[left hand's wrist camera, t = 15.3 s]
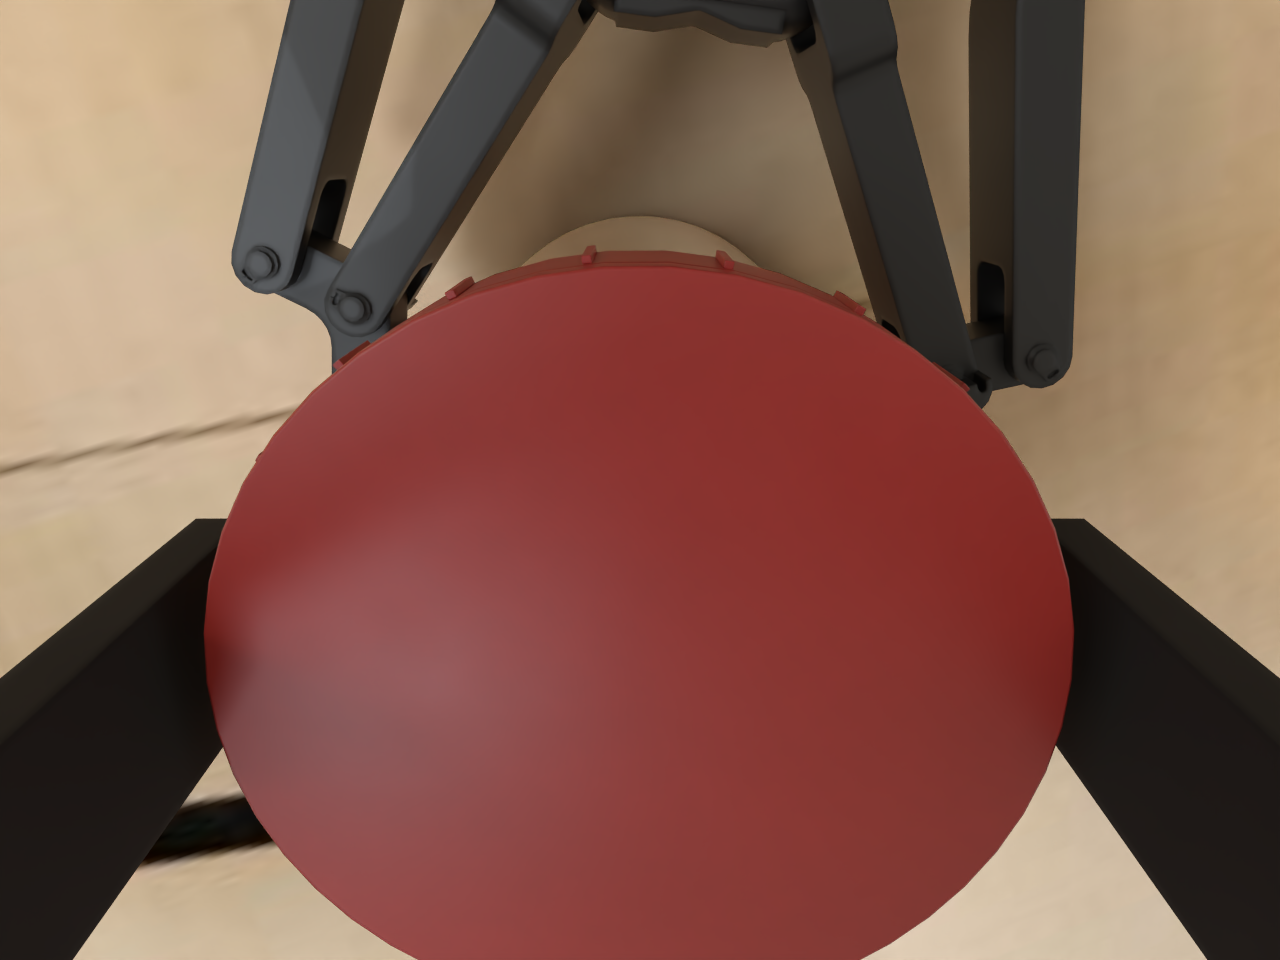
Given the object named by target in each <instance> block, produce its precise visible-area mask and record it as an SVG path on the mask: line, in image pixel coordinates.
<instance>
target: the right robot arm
mask: <svg viewBox="0 0 1280 960" xmlns="http://www.w3.org/2000/svg"><path fill="white" fill-rule="evenodd" d="M403 4H404V0H290V5H289V9H288V13H287V17H286V22H285V26H284V30H283V35H282V39H281V43H280V47H279V52H278V56H277V60H276V65H275V69H274V73H273V77H272V82H271V86H270V90H269V95H268V99H267V103H266V107H265V112H264V116H263V120H262V125H261V129H260V133H259V137H258V142H257V146H256V150H255V154H254V159H253V163H252V167H251V172H250V176H249V180H248V184H247V189H246V193H245V197H244V202H243V206H242V210H241V214H240V219H239V223H238V227H237V232H236V236H235V240H234V244H233V249H232V266H233V269H234V272H235V275H236V276H237V277H238V279H239V280H240V281H241V282H242V284H243V285H244V286H246V287H247V288H249V289H251V290H252V291H254V292H257V293H263V294H271V293H276V294H278V295H280V296H282V297H284V298H286V299H288V300H290V301H292V302H294V303H296V304H298V305H301V306H303V307H305V308H307V309H308V310H310V311H311V312H313V313H315V314H316V315H317V316H318V317H319V318H320V319H321V320H322V322H323V323H324V325H325V326H326V328H327V329H328V332H329V335H330V337H331V344H332V374H333V373H335V372H336V371H337V370H336V369H335V367H334V366H333V364H334V363H335V362H336V361H337V360H339V359H340V358H342V357H343V356H345V355H346V354H348V353H349V352H351V351H352V350H353V349H355V348H356V347H358V346H359V345H361V344H362V343H364V342H365V341H367V340H368V341H369V342H370V343H373V342H374V341H376V340H377V339H378V338H380V337H381V336H383V335H384V334H386V333H387V332H389V331H390V330H391V329H393V328H394V327H396V326H397V325H399V324H400V323H402V322H404V321H405V320H407V310H409V309H410V308H411V307H412V306H413V305H414V304H415V303H416V302H417V301H418V300H416V299H415V297H416V296H417V294H418V293H419V291H420V289H421V288H422V286H423V285H424V283H425V281H426V280H427V278H428V277H429V275H430V273H431V272H432V270H433V269H434V267H435V265H436V264H437V262H438V261H439V259H440V257H441V256H442V254H443V253H444V251H445V249H446V248H447V246H448V245H449V243H450V241H451V240H452V238H453V237H454V235H455V233H456V232H457V230H458V229H459V227H460V225H461V224H462V222H463V221H464V219H465V217H466V216H467V214H468V213H469V211H470V209H471V208H472V206H473V205H474V203H475V201H476V200H477V198H478V197H479V195H480V193H481V192H482V190H483V189H484V187H485V185H486V184H487V182H488V181H489V179H490V177H491V176H492V174H493V173H494V171H495V169H496V168H497V166H498V165H499V163H500V161H501V160H502V158H503V157H504V155H505V153H506V152H507V150H508V149H509V147H510V145H511V144H512V142H513V141H514V139H515V137H516V136H517V134H518V133H519V131H520V130H521V128H522V126H523V125H524V123H525V122H526V120H527V118H528V117H529V115H530V114H531V112H532V110H533V109H534V107H535V106H536V104H537V102H538V101H539V99H540V98H541V96H542V94H543V93H544V91H545V90H546V88H547V86H548V85H549V83H550V82H551V80H552V78H553V77H554V75H555V74H556V72H557V70H558V69H559V67H560V66H561V65H562V63H563V62H564V61H565V60H566V59H567V58H568V57H569V55H570V54H571V53H572V51H573V50H574V48H575V47H576V45H577V44H578V42H579V41H580V39H581V38H582V36H583V34H584V33H585V31H586V30H587V28H588V27H589V25H590V23H591V22H592V20H593V19H594V17H595V15H596V14H597V12H600V13H601V14H603V15H604V16H606V17H608V18H610V19H612V20H614V21H615V22H616V27H622V28H629V29H636V30H643V31H651V32H656V31H662V30H669V29H675V28H681V27H688V26H694V27H697V28H700V29H702V30H704V31H706V32H708V33H711V34H713V35H715V36H717V37H719V38H721V39H724V40H726V41H728V42H730V43H737V44H745V45H752V46H759V47H766V48H767V47H768V46H769V45H770V44H772V43H773V42H778V41H782V40H785V39H786V41H787V44H788V47H789V51H790V54H791V57H792V61H793V64H794V67H795V70H796V73H797V76H798V79H799V82H800V84H801V86H802V88H803V90H804V91H805V93H806V95H807V97H808V99H809V101H810V104H811V107H812V111H813V114H814V117H815V120H816V124H817V127H818V130H819V134H820V137H821V140H822V144H823V147H824V150H825V153H826V157H827V160H828V163H829V167H830V170H831V173H832V176H833V180H834V183H835V186H836V190H837V193H838V196H839V199H840V203H841V206H842V209H843V213H844V216H845V219H846V222H847V226H848V229H849V232H850V236H851V239H852V242H853V245H854V249H855V252H856V255H857V259H858V262H859V265H860V269H861V272H862V275H863V278H864V282H865V285H866V288H867V292H868V295H869V298H870V301H871V305H872V308H873V311H874V315H875V318H876V321H877V323H878V324H880V325H881V326H882V327H884V328H885V329H887V330H888V331H890V332H891V333H892V334H894V335H895V336H897V337H898V338H900V339H901V340H902V341H904V342H905V343H907V344H908V345H910V346H911V347H912V348H914V349H915V350H917V351H918V352H919V353H920V354H921V355H923V356H924V357H925V358H926V359H928V360H929V361H930V362H931V363H932V362H935V363H936V364H938V365H939V366H941V367H942V368H943V369H945V370H946V371H948V372H949V373H951V374H952V375H954V376H955V377H956V378H958V379H959V380H961V381H962V382H964V383H965V384H966V385H967V386H968V387H969V388H970V390H969V391H967V392H966V393H967V394H968V395H969V396H970V397H971V398H972V399H973V400H974V401H975V403H976V404H977V405H978V406H979V407H980V408H981V409H982V408H983V407H984V406H985V405H986V404H987V402H988V401H989V398H990V396H991V393H992V391H994V390H999V389H1003V388H1008V387H1013V386H1017V385H1022V384H1025V385H1026V386H1028V387H1030V388H1044V387H1047V386H1050V385H1053V384H1055V383H1056V382H1057V381H1059V380H1060V379H1061V378H1062V377H1063V376H1064V375H1065V373H1066V372H1067V370H1068V369H1069V367H1070V363H1071V359H1072V349H1073V321H1074V293H1075V265H1076V236H1077V208H1078V180H1079V152H1080V124H1081V96H1082V68H1083V39H1084V11H1085V0H971V6H970V17H969V164H970V311H971V323H967V324H966V323H965V320H964V316H963V312H962V308H961V305H960V301H959V297H958V293H957V290H956V286H955V282H954V278H953V275H952V271H951V267H950V263H949V260H948V256H947V252H946V249H945V245H944V241H943V237H942V234H941V230H940V226H939V222H938V219H937V215H936V211H935V207H934V204H933V200H932V196H931V192H930V189H929V185H928V181H927V178H926V174H925V170H924V166H923V163H922V159H921V155H920V151H919V148H918V144H917V140H916V136H915V133H914V129H913V125H912V121H911V118H910V114H909V110H908V107H907V103H906V99H905V95H904V92H903V88H902V84H901V80H900V77H899V73H898V68H897V61H896V57H897V49H898V44H897V35H896V30H895V25H894V21H893V17H892V14H891V10H890V6H889V2H888V0H496V1H495V4H494V6H493V9H492V11H491V13H490V15H489V16H488V18H487V20H486V21H485V23H484V25H483V27H482V28H481V30H480V32H479V33H478V35H477V37H476V38H475V40H474V42H473V44H472V45H471V47H470V49H469V50H468V52H467V54H466V55H465V57H464V59H463V61H462V62H461V64H460V66H459V67H458V69H457V71H456V72H455V74H454V76H453V78H452V79H451V81H450V83H449V84H448V86H447V88H446V89H445V91H444V93H443V95H442V96H441V98H440V100H439V101H438V103H437V105H436V106H435V108H434V110H433V112H432V113H431V115H430V117H429V118H428V120H427V122H426V123H425V125H424V127H423V129H422V130H421V132H420V134H419V135H418V137H417V139H416V140H415V142H414V144H413V146H412V147H411V149H410V151H409V152H408V154H407V156H406V157H405V159H404V161H403V163H402V164H401V166H400V168H399V169H398V171H397V173H396V174H395V176H394V178H393V180H392V181H391V183H390V185H389V186H388V188H387V190H386V191H385V193H384V195H383V197H382V198H381V200H380V202H379V203H378V205H377V207H376V208H375V210H374V212H373V214H372V215H371V217H370V219H369V220H368V222H367V224H366V225H365V227H364V229H363V231H362V232H361V234H360V236H359V237H358V239H357V241H356V242H355V244H354V246H353V248H352V249H349V248H347V247H345V246H343V245H341V244H339V243H338V240H339V237H340V233H341V229H342V226H343V222H344V219H345V215H346V211H347V208H348V204H349V200H350V197H351V193H352V189H353V186H354V182H355V179H356V175H357V171H358V168H359V164H360V160H361V157H362V153H363V149H364V146H365V142H366V139H367V135H368V131H369V128H370V124H371V120H372V117H373V113H374V109H375V106H376V102H377V99H378V95H379V91H380V88H381V84H382V80H383V77H384V73H385V69H386V66H387V62H388V59H389V55H390V51H391V48H392V44H393V40H394V37H395V33H396V29H397V26H398V22H399V19H400V15H401V11H402V8H403Z"/></svg>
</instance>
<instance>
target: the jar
mask: <svg viewBox="0 0 1280 960" xmlns="http://www.w3.org/2000/svg"><path fill="white" fill-rule="evenodd" d="M592 245H596V250H597V252H602V251H657V250H667V251H675V252H682V253H690V254H697V255H705V256H712V257H715V256H716V251H717V250H720V251H725V252H726V253H727V254H728V255H729V256H730V257H731V259H732V260H733V261H737V262H741V263H744V264H748V265H752V266H755V267H758V266H757V265H756V264H755V263H754V262H753V261H752V260H751V259H749V258H748V257H747V256H746V255H745V254H744V253H742V252H741V251H740V250H739V249H738V248H736V247H735V246H733V245H732V244H730V243H729V242H727V241H726V240H724V239H723V238H721V237H719V236H717V235H715V234H713V233H711V232H709V231H707V230H705V229H703V228H700V227H698V226H695V225H691V224H688V223H685V222H682V221H679V220H673V219H667V218H661V217H655V216H627V217H618V218H610V219H606V220H602V221H598V222H594V223H590V224H587V225H584V226H582V227H579V228H577V229H574V230H572V231H569V232H567V233H566V234H564V235H562V236H560V237H559V238H557V239H555V240H553V241H552V242H550V243H548V244H547V245H546V246H544V247H543V248H542V249H540V250H539V251H538V252H537V253H535V254H534V255H533V256H531V257H530V258H529V259H528V260H527V261H526V262H525V263H524V264H523V265H522V266H521V267H523V266H526V265H530V264H534V263H537V262H541V261H544V260H548V259H552V258H559V257H566V256H574V255H581V254H583V252H584V251H585V249H586V247H587V246H592Z"/></svg>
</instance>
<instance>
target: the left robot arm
mask: <svg viewBox="0 0 1280 960" xmlns="http://www.w3.org/2000/svg"><path fill="white" fill-rule="evenodd" d="M1051 520H1052V523H1053V525H1054V527H1055V530H1056V533H1057V537H1058V541H1059V545H1060V548H1061V552H1062V556H1063V559H1064V563H1065V567H1066V571H1067V574H1068V578H1069V586H1070V595H1071V605H1072V614H1073V623H1074V646H1073V666H1072V681H1071V686H1070V691H1069V696H1068V701H1067V706H1066V711H1065V715H1064V720H1063V725H1062V729H1061V732H1060V734H1059V737H1058V740H1057V743H1056V746H1057V748H1058V749H1059V750H1060V752H1061V753H1062V755H1063V756H1064V758H1065V759H1066V760H1067V762H1068V763H1069V765H1070V766H1071V767H1072V769H1073V770H1074V772H1075V773H1076V775H1077V776H1078V777H1079V779H1080V780H1081V782H1082V783H1083V784H1084V786H1085V787H1086V789H1087V790H1088V792H1089V793H1090V794H1091V796H1092V797H1093V799H1094V800H1095V801H1096V803H1097V804H1098V806H1099V807H1100V808H1101V810H1102V811H1103V813H1104V814H1105V816H1106V817H1107V818H1108V820H1109V821H1110V823H1111V824H1112V825H1113V827H1114V828H1115V830H1116V831H1117V833H1118V834H1119V835H1120V837H1121V838H1122V840H1123V841H1124V842H1125V844H1126V845H1127V847H1128V848H1129V850H1130V851H1131V852H1132V854H1133V855H1134V857H1135V858H1136V859H1137V861H1138V862H1139V864H1140V865H1141V867H1142V868H1143V869H1144V871H1145V872H1146V874H1147V875H1148V876H1149V878H1150V879H1151V881H1152V882H1153V883H1154V885H1155V886H1156V888H1157V889H1158V891H1159V892H1160V893H1161V895H1162V896H1163V898H1164V899H1165V900H1166V902H1167V903H1168V905H1169V906H1170V908H1171V909H1172V910H1173V912H1174V913H1175V915H1176V916H1177V917H1178V919H1179V920H1180V922H1181V923H1182V925H1183V926H1184V927H1185V929H1186V930H1187V932H1188V933H1189V934H1190V936H1191V937H1192V939H1193V940H1194V942H1195V943H1196V944H1197V946H1198V947H1199V949H1200V950H1201V951H1202V953H1203V954H1204V956H1205V957H1206V959H1207V960H1280V678H1279V677H1277V676H1276V675H1275V674H1274V673H1273V672H1271V671H1270V670H1269V669H1268V668H1266V667H1265V666H1264V665H1263V664H1261V663H1260V662H1259V661H1258V660H1257V659H1255V658H1254V657H1253V656H1252V655H1250V654H1249V653H1248V652H1247V651H1246V650H1244V649H1243V648H1242V647H1241V646H1239V645H1238V644H1237V643H1236V642H1234V641H1233V640H1232V639H1231V638H1230V637H1228V636H1227V635H1226V634H1225V633H1223V632H1222V631H1221V630H1220V629H1219V628H1217V627H1216V626H1215V625H1214V624H1212V623H1211V622H1210V621H1209V620H1208V619H1206V618H1205V617H1204V616H1203V615H1201V614H1200V613H1199V612H1198V611H1196V610H1195V609H1194V608H1193V607H1192V606H1190V605H1189V604H1188V603H1187V602H1185V601H1184V600H1183V599H1182V598H1181V597H1179V596H1178V595H1177V594H1176V593H1174V592H1173V591H1172V590H1171V589H1169V588H1168V587H1167V586H1166V585H1165V584H1163V583H1162V582H1161V581H1160V580H1158V579H1157V578H1156V577H1155V576H1154V575H1152V574H1151V573H1150V572H1149V571H1147V570H1146V569H1145V568H1144V567H1143V566H1141V565H1140V564H1139V563H1138V562H1136V561H1135V560H1134V559H1133V558H1131V557H1130V556H1129V555H1128V554H1127V553H1125V552H1124V551H1123V550H1122V549H1120V548H1119V547H1118V546H1117V545H1116V544H1114V543H1113V542H1112V541H1111V540H1109V539H1108V538H1107V537H1106V536H1104V535H1103V534H1102V533H1101V532H1100V531H1098V530H1097V529H1096V528H1095V527H1093V526H1092V525H1091V524H1090V523H1089V522H1087V521H1086V520H1085V519H1051ZM226 521H227V519H195V520H194V521H193V522H191V523H190V524H189V525H188V526H187V527H185V528H184V529H183V530H182V531H180V532H179V533H178V534H177V535H176V536H174V537H173V538H172V539H171V540H169V541H168V542H167V543H166V544H164V545H163V546H162V547H161V548H160V549H158V550H157V551H156V552H155V553H153V554H152V555H151V556H150V557H149V558H147V559H146V560H145V561H144V562H142V563H141V564H140V565H139V566H137V567H136V568H135V569H134V570H133V571H131V572H130V573H129V574H128V575H126V576H125V577H124V578H123V579H122V580H120V581H119V582H118V583H117V584H115V585H114V586H113V587H112V588H111V589H109V590H108V591H107V592H106V593H104V594H103V595H102V596H101V597H99V598H98V599H97V600H96V601H95V602H93V603H92V604H91V605H90V606H88V607H87V608H86V609H85V610H84V611H82V612H81V613H80V614H79V615H77V616H76V617H75V618H74V619H72V620H71V621H70V622H69V623H68V624H66V625H65V626H64V627H63V628H61V629H60V630H59V631H58V632H57V633H55V634H54V635H53V636H52V637H50V638H49V639H48V640H47V641H46V642H44V643H43V644H42V645H41V646H39V647H38V648H37V649H36V650H34V651H33V652H32V653H31V654H30V655H28V656H27V657H26V658H25V659H23V660H22V661H21V662H20V663H19V664H17V665H16V666H15V667H14V668H12V669H11V670H10V671H9V672H7V673H6V674H5V675H4V676H3V677H1V678H0V960H73V959H74V957H75V956H76V954H77V953H78V951H79V950H80V949H81V947H82V946H83V944H84V943H85V942H86V940H87V939H88V937H89V936H90V934H91V933H92V932H93V930H94V929H95V927H96V926H97V925H98V923H99V922H100V920H101V919H102V917H103V916H104V915H105V913H106V912H107V910H108V909H109V908H110V906H111V905H112V903H113V902H114V900H115V899H116V898H117V896H118V895H119V893H120V892H121V891H122V889H123V888H124V886H125V885H126V883H127V882H128V881H129V879H130V878H131V876H132V875H133V874H134V872H135V871H136V869H137V868H138V867H139V865H140V864H141V862H142V861H143V859H144V858H145V857H146V855H147V854H148V852H149V851H150V850H151V848H152V847H153V845H154V844H155V842H156V841H157V840H158V838H159V837H160V835H161V834H162V833H163V831H164V830H165V828H166V827H167V825H168V824H169V823H170V821H171V820H172V818H173V817H174V816H175V814H176V813H177V811H178V810H179V808H180V807H181V806H182V804H183V803H184V801H185V800H186V799H187V797H188V796H189V794H190V793H191V792H192V790H193V789H194V787H195V786H196V784H197V783H198V782H199V780H200V779H201V777H202V776H203V775H204V773H205V772H206V770H207V769H208V767H209V766H210V765H211V763H212V762H213V760H214V759H215V758H216V756H217V755H218V753H219V752H220V750H221V749H222V748H223V745H222V743H221V740H220V737H219V735H218V732H217V729H216V724H215V719H214V715H213V710H212V705H211V701H210V696H209V691H208V687H207V681H206V664H205V647H204V625H205V614H206V604H207V594H208V584H209V579H210V575H211V571H212V567H213V563H214V559H215V555H216V552H217V548H218V544H219V540H220V536H221V532H222V530H223V527H224V525H225V523H226Z"/></svg>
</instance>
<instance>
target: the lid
mask: <svg viewBox="0 0 1280 960" xmlns="http://www.w3.org/2000/svg"><path fill="white" fill-rule="evenodd" d="M445 295H446V296H444V297H443V298H441V299H439V300H438V301H436V302H434V303H433V304H431V305H430V306H428V307H426V308H425V309H423V310H422V311H420V312H418V313H417V314H415V315H413V316H412V317H410V318H409V319H407V320H405V321H404V322H402V323H400V324H399V325H397V326H396V327H394V328H393V329H391V330H390V331H389V332H387V333H386V334H384V335H383V336H381V337H380V338H378V339H377V340H376V341H374V342H373V343H370V342H369V341H368V340H367V341H365V342H364V343H362V344H361V345H359V346H358V347H356V348H355V349H353V350H352V351H351V352H349V353H348V354H346V355H345V356H343V357H342V358H340V359H339V360H337V361H336V362H335V363H334V364H333V366H334V367H335V369H336V370H337V371H336V372H335V373H333V374H332V375H331V376H330V377H329V378H327V379H326V380H325V381H324V382H323V383H321V384H320V385H319V386H318V387H317V388H315V389H314V390H313V391H312V392H311V393H310V394H309V395H308V397H307V398H306V399H305V400H304V401H303V402H302V403H301V404H300V406H299V407H298V408H297V409H296V410H295V411H294V412H293V414H292V415H291V416H290V417H289V418H288V419H287V420H286V421H285V423H284V424H283V425H282V426H281V427H280V428H279V429H278V431H277V432H276V433H275V434H274V435H273V437H272V438H271V440H270V441H269V443H268V444H267V446H266V448H265V449H264V451H263V452H261V453H260V454H259V455H258V457H257V458H256V463H255V465H254V466H253V468H252V469H251V471H250V473H249V474H248V476H247V477H246V479H245V480H244V482H243V484H242V486H241V489H240V491H239V493H238V496H237V498H236V500H235V502H234V505H233V507H232V509H231V511H230V514H229V516H228V518H227V521H226V523H225V525H224V527H223V530H222V532H221V536H220V540H219V544H218V548H217V552H216V555H215V559H214V563H213V567H212V571H211V575H210V579H209V584H208V594H207V604H206V614H205V625H204V647H205V664H206V681H207V687H208V691H209V696H210V701H211V705H212V710H213V715H214V719H215V724H216V729H217V732H218V735H219V737H220V740H221V743H222V745H223V748H224V751H225V753H226V756H227V759H228V761H229V764H230V767H231V770H232V772H233V775H234V777H235V778H236V780H237V782H238V784H239V786H240V788H241V790H242V791H243V793H244V795H245V797H246V799H247V801H248V803H249V804H250V806H251V808H252V810H253V812H254V814H255V816H256V817H257V818H258V820H259V821H260V823H261V824H262V825H263V827H264V828H265V829H266V831H267V832H268V834H269V835H270V836H271V838H272V839H273V841H274V842H275V843H276V845H277V846H278V847H279V849H280V850H281V852H282V853H283V854H284V855H285V856H286V858H287V859H288V860H289V861H290V862H291V863H292V864H293V865H294V866H295V867H296V868H297V869H298V870H299V871H300V873H301V874H302V875H303V876H304V877H305V878H306V879H307V880H308V881H309V882H310V883H311V884H312V885H313V886H314V888H315V889H317V890H318V891H319V892H320V893H321V894H322V895H324V896H325V897H326V898H327V899H328V900H330V901H331V902H332V903H333V904H334V905H335V906H337V907H338V908H339V909H340V910H341V911H343V912H344V913H345V914H346V915H347V916H348V917H350V918H351V919H352V920H354V921H355V922H357V923H358V924H360V925H361V926H363V927H364V928H366V929H367V930H368V931H370V932H371V933H373V934H374V935H376V936H377V937H379V938H380V939H382V940H383V941H385V942H386V943H388V944H389V945H391V946H393V947H395V948H397V949H399V950H400V951H402V952H404V953H406V954H408V955H410V956H412V957H414V958H416V959H418V960H861V959H863V958H865V957H866V956H868V955H870V954H872V953H874V952H876V951H878V950H880V949H881V948H883V947H885V946H887V945H889V944H891V943H892V942H894V941H895V940H896V939H898V938H899V937H901V936H902V935H904V934H905V933H907V932H908V931H910V930H911V929H913V928H914V927H916V926H917V925H919V924H920V923H921V922H923V921H924V920H926V919H927V918H929V917H930V916H931V915H932V914H933V913H935V912H936V911H937V910H938V909H939V908H940V907H942V906H943V905H944V904H945V903H946V902H947V901H949V900H950V899H951V898H952V897H953V896H954V895H956V894H957V893H958V892H959V891H960V890H961V889H963V888H964V887H965V886H966V885H967V884H968V883H969V881H970V880H971V879H972V878H973V877H974V876H975V875H976V874H977V873H978V872H979V871H980V869H981V868H982V867H983V866H984V865H985V864H986V863H987V862H988V861H989V860H990V859H991V858H992V856H993V855H994V854H995V853H996V852H997V851H998V849H999V848H1000V846H1001V845H1002V844H1003V842H1004V841H1005V839H1006V838H1007V837H1008V835H1009V834H1010V832H1011V831H1012V830H1013V828H1014V827H1015V825H1016V824H1017V823H1018V821H1019V820H1020V818H1021V817H1022V816H1023V814H1024V812H1025V810H1026V809H1027V807H1028V805H1029V803H1030V801H1031V799H1032V797H1033V795H1034V793H1035V792H1036V790H1037V788H1038V786H1039V784H1040V782H1041V780H1042V778H1043V776H1044V775H1045V773H1046V770H1047V767H1048V765H1049V762H1050V759H1051V756H1052V754H1053V751H1054V748H1055V745H1056V743H1057V740H1058V737H1059V734H1060V732H1061V729H1062V725H1063V720H1064V715H1065V711H1066V706H1067V701H1068V696H1069V691H1070V686H1071V681H1072V666H1073V646H1074V623H1073V614H1072V605H1071V595H1070V586H1069V578H1068V574H1067V571H1066V567H1065V563H1064V559H1063V556H1062V552H1061V548H1060V545H1059V541H1058V537H1057V533H1056V530H1055V527H1054V525H1053V523H1052V520H1051V518H1050V516H1049V514H1048V512H1047V509H1046V507H1045V505H1044V503H1043V500H1042V498H1041V496H1040V494H1039V491H1038V489H1037V487H1036V485H1035V483H1034V480H1033V479H1032V477H1031V476H1030V474H1029V472H1028V471H1027V469H1026V468H1025V466H1024V465H1023V463H1022V462H1021V460H1020V459H1019V457H1018V456H1017V454H1016V453H1015V451H1014V449H1013V448H1012V446H1011V445H1010V443H1009V442H1008V440H1007V439H1006V437H1005V436H1004V434H1003V433H1002V432H1001V430H1000V429H999V428H998V427H997V426H996V425H995V424H994V423H993V421H992V420H991V419H990V418H989V417H988V416H987V415H986V414H985V413H984V411H983V410H982V409H981V408H980V407H979V406H978V405H977V404H976V403H975V401H974V400H973V399H972V398H971V397H970V396H969V395H968V394H967V393H966V392H967V391H969V390H970V388H969V387H968V386H967V385H966V384H965V383H964V382H962V381H961V380H959V379H958V378H956V377H955V376H954V375H952V374H951V373H949V372H948V371H946V370H945V369H943V368H942V367H941V366H939V365H938V364H936V363H935V362H932V363H931V362H930V361H929V360H928V359H926V358H925V357H924V356H923V355H921V354H920V353H919V352H918V351H917V350H915V349H914V348H912V347H911V346H910V345H908V344H907V343H905V342H904V341H902V340H901V339H900V338H898V337H897V336H895V335H894V334H892V333H891V332H890V331H888V330H887V329H885V328H884V327H882V326H881V325H880V324H878V323H876V322H875V321H873V320H871V319H870V318H868V317H866V316H865V315H863V314H864V312H865V311H866V309H865V308H864V307H862V306H861V305H859V304H858V303H856V302H855V301H853V300H852V299H850V298H849V297H847V296H846V295H844V294H843V293H841V292H839V291H836V293H835V295H834V296H832V295H829V294H827V293H825V292H822V291H820V290H818V289H815V288H813V287H811V286H808V285H806V284H804V283H801V282H799V281H797V280H794V279H792V278H790V277H787V276H785V275H783V274H780V273H777V272H773V271H770V270H766V269H762V268H759V267H755V266H752V265H748V264H744V263H741V262H737V261H733V260H732V259H731V257H730V256H729V255H728V254H727V253H726V252H725V251H720V250H717V251H716V256H715V257H712V256H705V255H697V254H690V253H682V252H675V251H667V250H657V251H602V252H597V250H596V245H592V246H587V247H586V249H585V251H584V252H583V254H581V255H574V256H566V257H559V258H552V259H548V260H544V261H541V262H537V263H534V264H530V265H526V266H523V267H519V268H516V269H512V270H509V271H505V272H502V273H498V274H495V275H492V276H490V277H488V278H486V279H483V280H481V281H479V282H476V283H475V282H474V280H473V278H472V277H469V278H466V279H464V280H463V281H461V282H460V283H458V284H457V285H456V286H454V287H453V288H451V289H450V290H448V291H447V292H445Z"/></svg>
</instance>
